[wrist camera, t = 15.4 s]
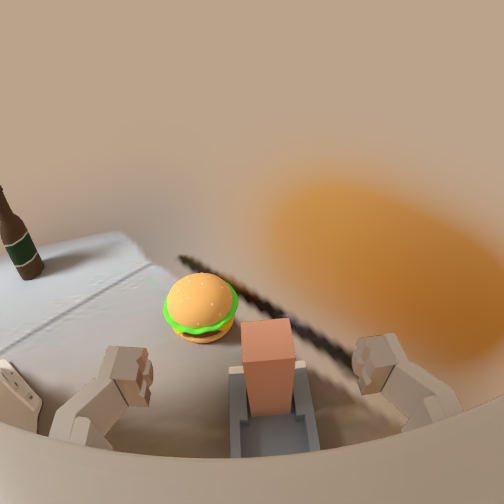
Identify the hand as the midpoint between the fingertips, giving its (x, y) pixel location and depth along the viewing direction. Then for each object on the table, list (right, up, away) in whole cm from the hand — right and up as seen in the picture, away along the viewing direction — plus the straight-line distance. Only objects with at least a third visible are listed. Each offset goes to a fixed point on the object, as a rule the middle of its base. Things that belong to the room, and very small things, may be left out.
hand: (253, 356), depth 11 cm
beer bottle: (-56, -1, +53) cm, 77 cm away
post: (+2, -16, +27) cm, 31 cm away
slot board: (+3, -19, +24) cm, 31 cm away
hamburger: (-8, -8, +40) cm, 42 cm away
